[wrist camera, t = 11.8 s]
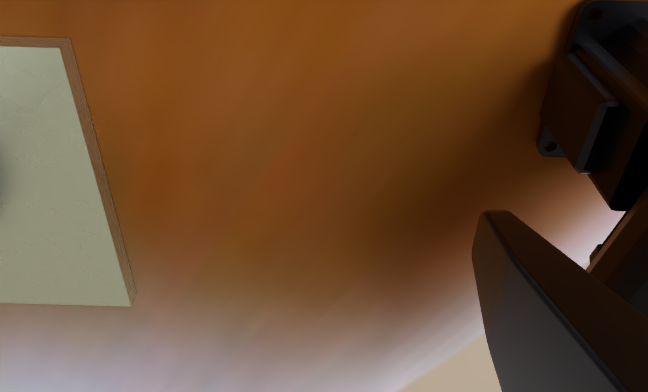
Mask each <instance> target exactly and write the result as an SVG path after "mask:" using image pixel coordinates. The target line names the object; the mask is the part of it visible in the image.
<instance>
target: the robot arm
mask: <svg viewBox="0 0 648 392" xmlns="http://www.w3.org/2000/svg"><path fill="white" fill-rule="evenodd" d="M595 7H598V11H597V13H596V15H594V16H593V17H590V18H588V13H589V11H590V10H591V9H593V8H595ZM540 117H541V119H542V123H541V126H540V130H539V133H538V136H537V139H536V147H537V149H538V151H539V153H540V154H542V155H543V156H547V157H567V158H568V160H569V162H570V163H571V165H572V166H573V168H574V169H575V170H576V171H577V173H579V174H587V175H588V176H589V178H590V179H591V181H592V182H593V184H594V185H595V187H596V188H597V190H598V191H599V193H600V194H601V196H602V197H603V198H604V200H605V201H606V203H607V204H608V206H609V207H610V209H611V210H614V211H626V213H625V214H624V215H623V217H622V218H621V219H620V221H619V222H618V223H617V225H616V226H615V228H614V229H613V230H612V232H611V233H610V234H609V236H608V237H607V238H606V240H605V241H604V242H603V244H599V245H597V247H596V248H595V249H594V251H593V252H592V253H591V255H590V265H589V266H588V268H587V269H586V270H584V269H583V268H582V267H581V266H579V265H578V264H577V263H575V262H574V261H573V260H572V259H570V258H569V257H568V256H566V255H565V254H564V253H562V252H561V251H560V250H559V249H557V248H556V247H555V246H553V245H552V244H551V243H549V242H548V241H547V240H546V239H544V238H543V237H542V236H540V235H539V234H538V233H537V232H535V231H534V230H533V229H531V228H530V227H529V226H527V225H526V224H525V223H524V222H522V221H521V220H520V219H518V218H517V217H516V216H515V215H513V214H512V213H510V212H509V211H507V210H485V211H483V212H482V213H481V215H480V217H479V220H478V225H477V229H476V233H475V238H474V242H473V247H472V262H473V268H474V273H475V279H476V284H477V290H478V296H479V301H480V307H481V312H482V318H483V323H484V329H485V334H486V338H487V343H488V346H489V350H490V354H491V357H492V360H493V363H494V367H495V370H496V373H497V377H498V380H499V383H500V386H501V390H502V392H648V0H584V1H583V2H582V3H581V4H580V5H579V7H578V9H577V11H576V15H575V18H574V21H573V24H572V27H571V31H570V34H569V37H568V40H567V43H566V46H565V50H564V53H562V54H561V55H560V56H559V57H558V58H557V59H556V62H555V65H554V68H553V72H552V75H551V78H550V81H549V85H548V88H547V91H546V95H545V98H544V101H543V104H542V108H541V111H540ZM551 141H554V142H553V144H552V145H550V146H547V147H545V145H546V143H548V142H551Z"/></svg>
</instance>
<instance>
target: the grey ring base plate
mask: <svg viewBox="0 0 648 392" xmlns="http://www.w3.org/2000/svg"><path fill="white" fill-rule="evenodd" d="M135 295H136V288H135V285H134V281H133V277H132V273H131V269H130V266H129V262H128V258H127V254H126V250H125V246H124V243H123V239H122V235H121V231H120V227H119V224H118V220H117V216H116V212H115V208H114V204H113V201H112V197H111V193H110V189H109V185H108V182H107V178H106V174H105V170H104V166H103V162H102V159H101V155H100V151H99V147H98V143H97V140H96V136H95V132H94V128H93V124H92V120H91V117H90V113H89V109H88V105H87V101H86V98H85V94H84V90H83V86H82V82H81V78H80V75H79V71H78V67H77V63H76V59H75V56H74V52H73V48H72V44H71V40H70V38H47V37H17V36H0V303H20V304H57V305H93V306H129V307H131V305H132V303H133V300H134V297H135Z"/></svg>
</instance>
